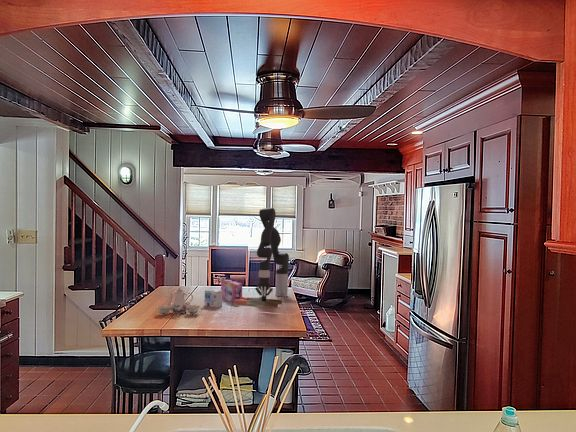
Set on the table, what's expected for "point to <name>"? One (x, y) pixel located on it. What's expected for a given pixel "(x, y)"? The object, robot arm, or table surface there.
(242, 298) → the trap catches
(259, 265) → the robot arm
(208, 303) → the light bulb box
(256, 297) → the slate block
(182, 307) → the chinaware
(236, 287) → the gum box
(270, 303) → the track
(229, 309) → the table surface
